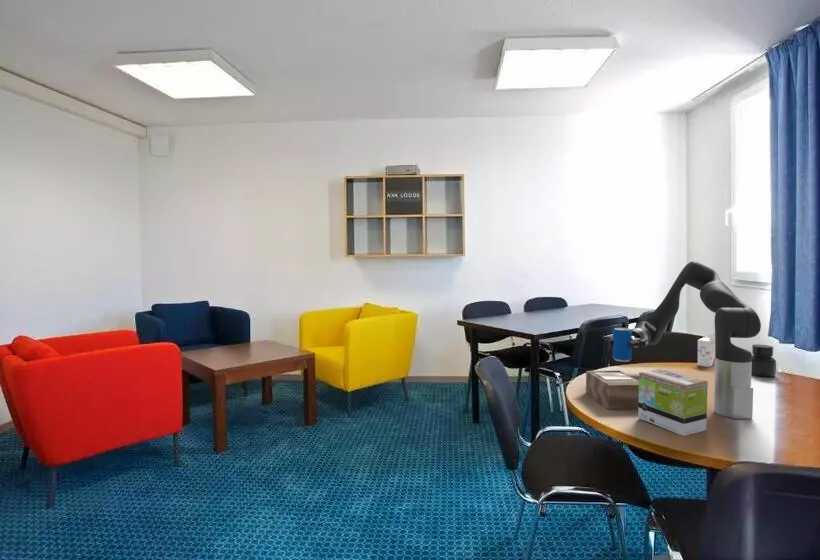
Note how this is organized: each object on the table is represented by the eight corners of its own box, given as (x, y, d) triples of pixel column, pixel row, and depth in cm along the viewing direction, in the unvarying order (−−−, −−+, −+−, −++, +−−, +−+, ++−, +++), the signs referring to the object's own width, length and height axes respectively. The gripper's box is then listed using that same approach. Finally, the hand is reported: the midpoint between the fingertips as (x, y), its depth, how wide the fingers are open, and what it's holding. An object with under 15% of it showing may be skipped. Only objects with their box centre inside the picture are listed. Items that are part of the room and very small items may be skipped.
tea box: (636, 419, 139) (637, 371, 138) (659, 414, 143) (660, 367, 142) (683, 437, 125) (685, 384, 124) (707, 431, 129) (709, 379, 129)
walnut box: (645, 408, 148) (645, 383, 148) (608, 409, 148) (609, 384, 147) (618, 392, 166) (619, 369, 166) (586, 392, 166) (586, 370, 165)
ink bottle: (781, 376, 185) (782, 347, 185) (769, 379, 181) (770, 349, 181) (754, 371, 194) (755, 343, 193) (742, 373, 190) (743, 344, 190)
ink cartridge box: (702, 362, 210) (703, 330, 209) (715, 364, 206) (716, 331, 206) (696, 365, 204) (697, 332, 204) (709, 367, 201) (710, 334, 200)
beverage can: (635, 361, 172) (635, 329, 171) (622, 362, 169) (622, 330, 169) (621, 357, 178) (621, 327, 177) (608, 359, 175) (609, 328, 175)
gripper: (616, 327, 188) (600, 332, 176) (654, 330, 178) (640, 336, 166) (616, 345, 189) (600, 351, 177) (654, 349, 179) (640, 356, 167)
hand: (620, 344), depth 171 cm, fingers closed on beverage can, 6 cm apart
